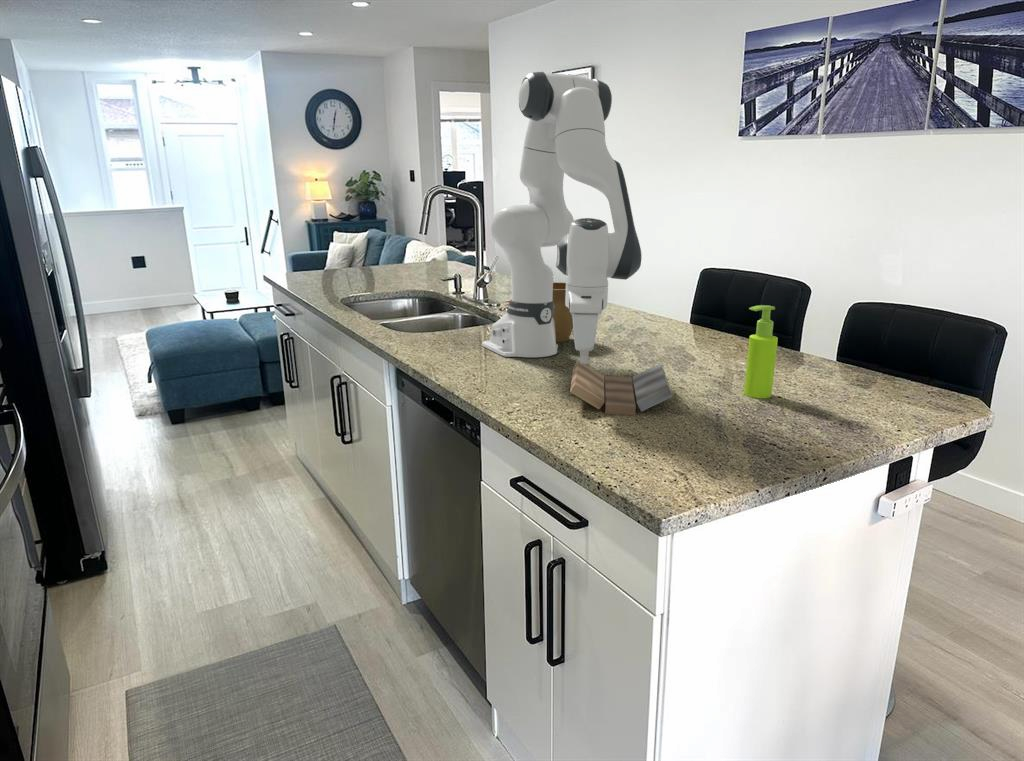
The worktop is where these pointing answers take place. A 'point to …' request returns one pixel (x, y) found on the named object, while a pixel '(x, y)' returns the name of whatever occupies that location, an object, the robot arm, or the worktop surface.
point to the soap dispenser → (761, 356)
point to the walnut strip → (619, 396)
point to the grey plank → (651, 387)
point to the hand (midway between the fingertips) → (584, 362)
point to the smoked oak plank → (588, 384)
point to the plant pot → (561, 313)
